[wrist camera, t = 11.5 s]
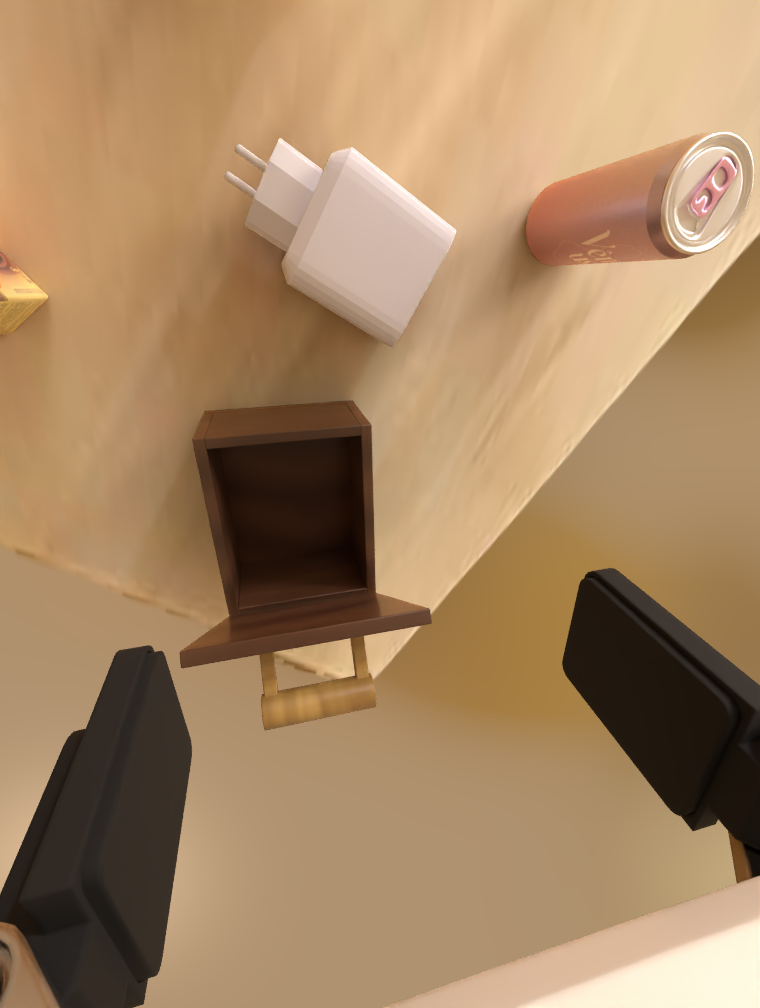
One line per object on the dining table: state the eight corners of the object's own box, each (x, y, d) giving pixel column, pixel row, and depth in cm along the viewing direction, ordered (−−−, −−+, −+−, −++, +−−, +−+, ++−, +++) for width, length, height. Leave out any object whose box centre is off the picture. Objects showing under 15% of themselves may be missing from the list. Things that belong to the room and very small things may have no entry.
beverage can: (599, 215, 38) (776, 180, 25) (554, 280, 40) (698, 280, 27) (554, 164, 36) (723, 96, 23) (507, 236, 37) (641, 211, 24)
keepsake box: (204, 411, 38) (191, 439, 31) (352, 400, 40) (371, 424, 33) (234, 566, 45) (229, 617, 38) (359, 549, 47) (375, 594, 40)
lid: (179, 651, 21) (188, 763, 21) (430, 608, 24) (445, 707, 23) (228, 616, 37) (235, 679, 37) (376, 592, 40) (384, 651, 39)
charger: (260, 97, 30) (437, 235, 36) (206, 234, 32) (380, 341, 38) (260, 68, 26) (460, 228, 32) (198, 228, 28) (395, 349, 34)
